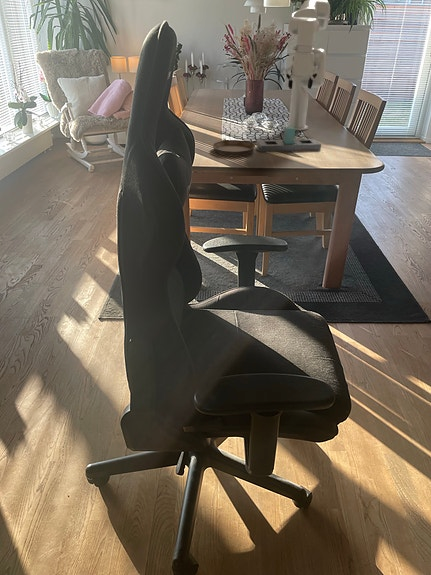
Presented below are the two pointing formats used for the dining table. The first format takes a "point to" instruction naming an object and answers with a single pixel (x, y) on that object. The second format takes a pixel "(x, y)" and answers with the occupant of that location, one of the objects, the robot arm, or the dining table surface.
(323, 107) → the dining table surface
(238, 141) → the plant saucer
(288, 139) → the square block
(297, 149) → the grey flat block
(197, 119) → the dining table surface
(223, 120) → the dining table surface
